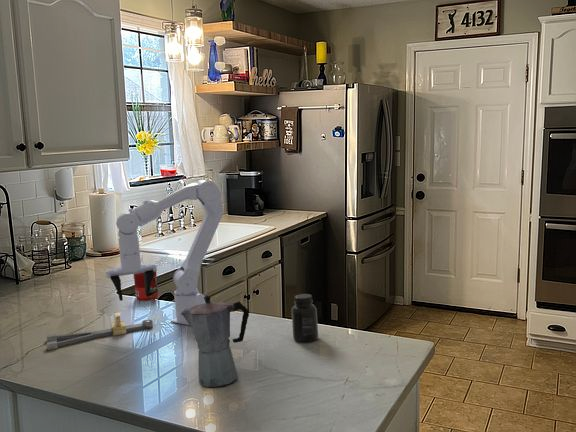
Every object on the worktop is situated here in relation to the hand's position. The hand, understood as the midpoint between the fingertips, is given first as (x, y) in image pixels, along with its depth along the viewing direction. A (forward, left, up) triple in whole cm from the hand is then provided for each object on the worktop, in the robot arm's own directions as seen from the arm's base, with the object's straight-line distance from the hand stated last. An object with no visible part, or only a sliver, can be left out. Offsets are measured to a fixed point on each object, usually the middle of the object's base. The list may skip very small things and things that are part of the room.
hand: (134, 297), depth 171 cm
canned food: (+22, -26, -10) cm, 35 cm away
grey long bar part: (+5, +9, -9) cm, 14 cm away
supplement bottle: (-52, -12, -10) cm, 54 cm away
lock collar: (+2, +5, -9) cm, 11 cm away
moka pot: (-47, +19, -10) cm, 52 cm away
